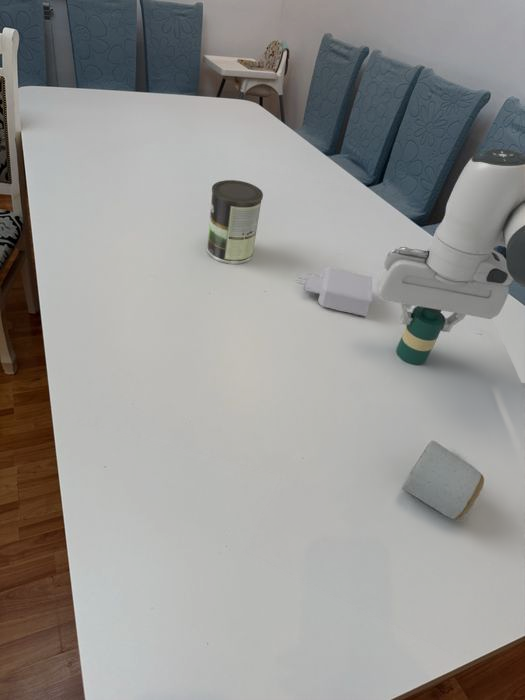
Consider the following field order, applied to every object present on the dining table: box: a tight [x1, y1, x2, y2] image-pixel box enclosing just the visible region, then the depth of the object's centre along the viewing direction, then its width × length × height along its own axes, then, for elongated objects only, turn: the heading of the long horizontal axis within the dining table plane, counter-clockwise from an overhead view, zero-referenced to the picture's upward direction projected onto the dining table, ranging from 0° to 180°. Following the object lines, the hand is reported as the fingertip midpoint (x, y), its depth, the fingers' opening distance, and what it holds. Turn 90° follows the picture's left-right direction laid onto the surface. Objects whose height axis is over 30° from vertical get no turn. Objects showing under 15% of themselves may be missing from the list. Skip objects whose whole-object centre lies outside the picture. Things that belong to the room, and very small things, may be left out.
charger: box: [294, 267, 373, 317], centre depth 99 cm, size 5×9×15 cm
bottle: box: [395, 306, 446, 366], centre depth 87 cm, size 6×6×12 cm
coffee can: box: [206, 179, 264, 265], centre depth 104 cm, size 10×10×14 cm
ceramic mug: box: [401, 440, 485, 520], centre depth 66 cm, size 11×8×8 cm
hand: (424, 326), depth 86 cm, fingers closed on bottle, 5 cm apart
